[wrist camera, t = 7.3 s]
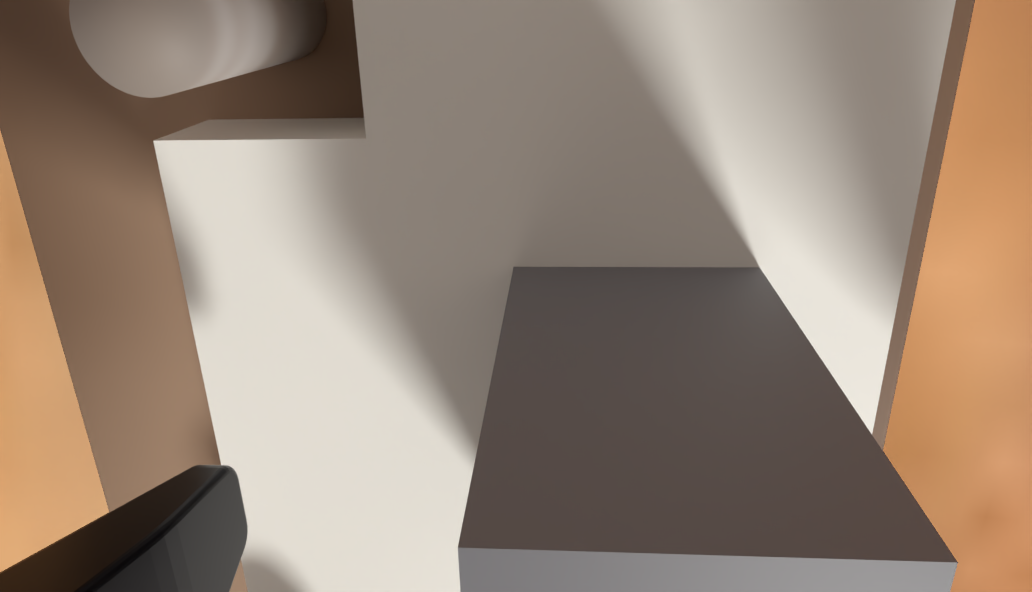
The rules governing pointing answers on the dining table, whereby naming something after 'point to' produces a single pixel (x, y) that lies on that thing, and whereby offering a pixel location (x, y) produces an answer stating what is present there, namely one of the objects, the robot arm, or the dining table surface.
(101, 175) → the peg board
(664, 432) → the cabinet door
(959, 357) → the dining table surface
